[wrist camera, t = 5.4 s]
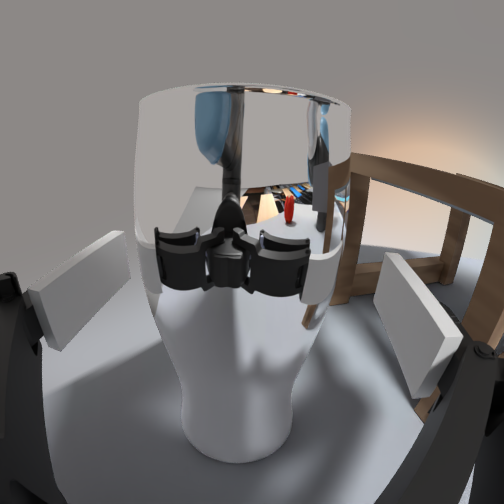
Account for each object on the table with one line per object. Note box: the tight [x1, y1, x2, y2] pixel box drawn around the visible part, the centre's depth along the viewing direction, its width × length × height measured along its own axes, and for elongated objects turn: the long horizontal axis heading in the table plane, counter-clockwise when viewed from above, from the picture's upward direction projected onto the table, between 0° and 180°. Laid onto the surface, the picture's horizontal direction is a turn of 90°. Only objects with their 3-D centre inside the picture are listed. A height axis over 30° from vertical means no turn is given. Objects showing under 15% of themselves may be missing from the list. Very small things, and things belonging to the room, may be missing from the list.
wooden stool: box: [329, 152, 504, 424], centre depth 19 cm, size 19×19×14 cm
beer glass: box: [134, 83, 351, 463], centre depth 11 cm, size 7×7×15 cm
